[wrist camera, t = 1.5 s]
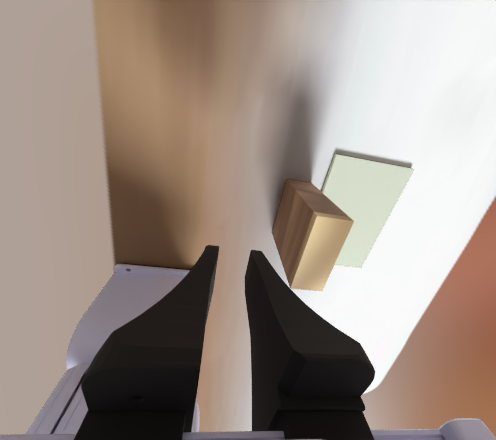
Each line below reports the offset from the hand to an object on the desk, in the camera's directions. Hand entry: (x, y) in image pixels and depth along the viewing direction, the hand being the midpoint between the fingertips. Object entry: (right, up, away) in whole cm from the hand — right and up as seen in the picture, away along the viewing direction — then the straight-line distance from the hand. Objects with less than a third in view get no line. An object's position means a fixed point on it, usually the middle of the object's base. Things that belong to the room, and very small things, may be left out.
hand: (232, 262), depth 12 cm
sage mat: (+12, +3, +10) cm, 16 cm away
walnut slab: (+5, +4, +9) cm, 11 cm away
